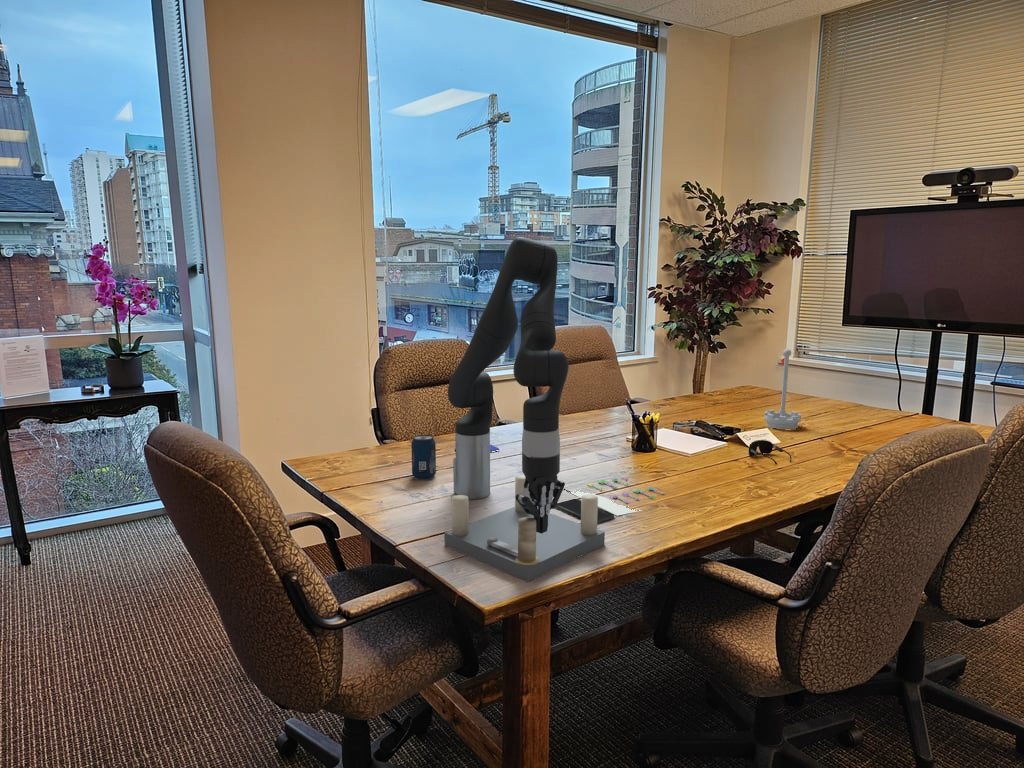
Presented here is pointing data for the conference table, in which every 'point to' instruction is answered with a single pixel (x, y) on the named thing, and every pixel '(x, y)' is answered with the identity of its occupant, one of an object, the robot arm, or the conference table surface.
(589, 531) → the grey square base plate
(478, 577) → the conference table surface
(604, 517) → the phone
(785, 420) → the flag stand
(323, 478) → the conference table surface
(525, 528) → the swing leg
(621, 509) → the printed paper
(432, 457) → the soda can
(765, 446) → the sunglasses
